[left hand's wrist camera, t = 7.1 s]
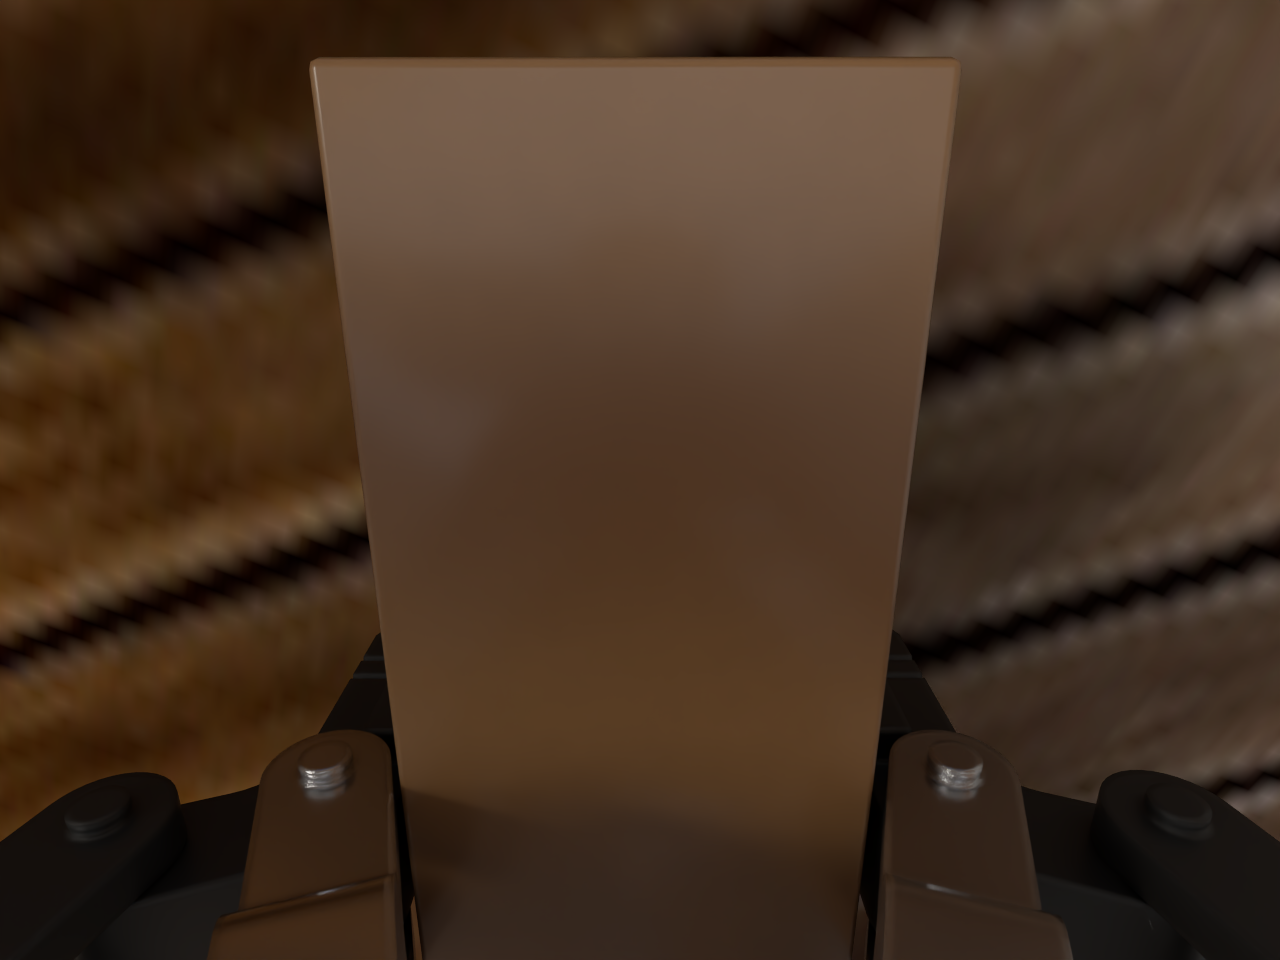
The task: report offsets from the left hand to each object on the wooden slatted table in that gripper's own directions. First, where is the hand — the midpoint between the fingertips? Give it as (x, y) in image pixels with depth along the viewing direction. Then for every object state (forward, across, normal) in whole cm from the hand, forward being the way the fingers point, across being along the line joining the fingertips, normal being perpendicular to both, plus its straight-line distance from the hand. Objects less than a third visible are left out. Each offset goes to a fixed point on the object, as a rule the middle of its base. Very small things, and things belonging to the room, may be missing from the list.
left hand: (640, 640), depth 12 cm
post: (+4, 0, -22) cm, 22 cm away
